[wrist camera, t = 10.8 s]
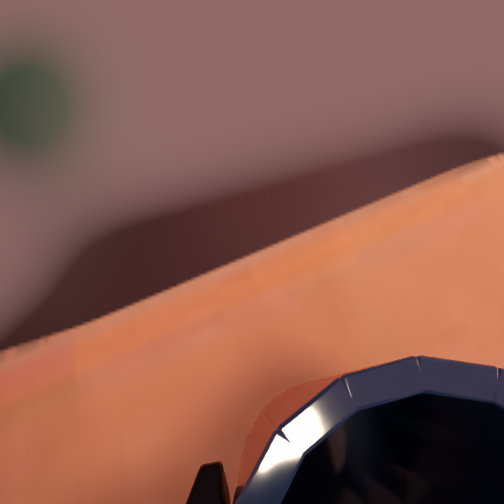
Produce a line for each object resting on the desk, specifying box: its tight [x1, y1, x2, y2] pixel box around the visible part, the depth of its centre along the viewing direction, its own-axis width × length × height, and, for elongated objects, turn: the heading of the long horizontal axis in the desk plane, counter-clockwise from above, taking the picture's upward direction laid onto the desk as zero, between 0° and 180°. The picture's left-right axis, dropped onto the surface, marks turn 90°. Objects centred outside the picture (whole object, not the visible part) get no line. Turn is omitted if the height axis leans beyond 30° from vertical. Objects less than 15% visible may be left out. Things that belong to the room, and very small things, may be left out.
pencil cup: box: [233, 356, 504, 504], centre depth 10 cm, size 6×6×10 cm
